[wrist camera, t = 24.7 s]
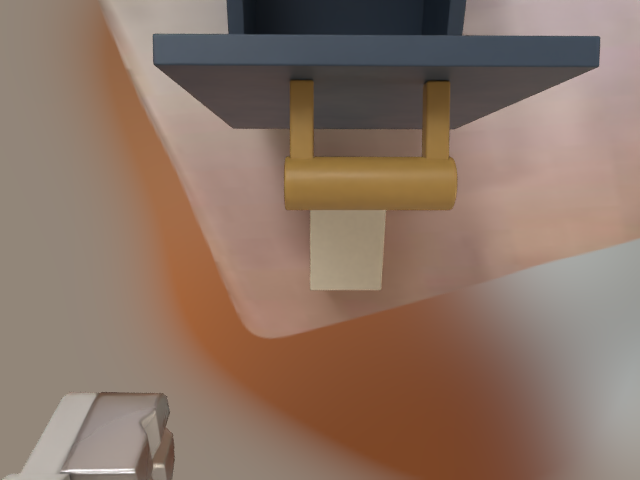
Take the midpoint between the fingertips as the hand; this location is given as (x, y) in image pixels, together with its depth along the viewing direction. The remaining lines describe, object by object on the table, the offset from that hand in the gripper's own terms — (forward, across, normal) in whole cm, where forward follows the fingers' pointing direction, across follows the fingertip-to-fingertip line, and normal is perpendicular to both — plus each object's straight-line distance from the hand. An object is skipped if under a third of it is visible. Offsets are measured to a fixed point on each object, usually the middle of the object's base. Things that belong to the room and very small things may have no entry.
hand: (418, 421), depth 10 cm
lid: (+16, 0, -2) cm, 16 cm away
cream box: (+31, 0, +11) cm, 33 cm away
